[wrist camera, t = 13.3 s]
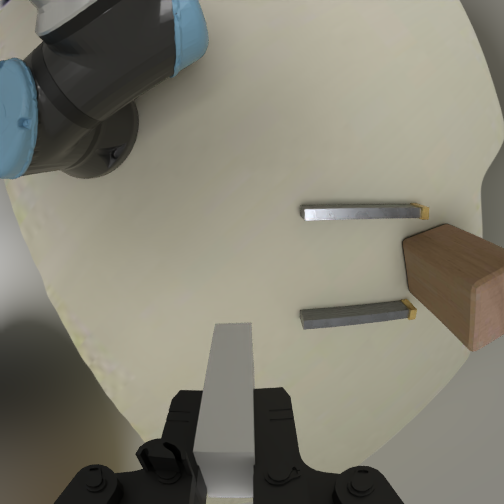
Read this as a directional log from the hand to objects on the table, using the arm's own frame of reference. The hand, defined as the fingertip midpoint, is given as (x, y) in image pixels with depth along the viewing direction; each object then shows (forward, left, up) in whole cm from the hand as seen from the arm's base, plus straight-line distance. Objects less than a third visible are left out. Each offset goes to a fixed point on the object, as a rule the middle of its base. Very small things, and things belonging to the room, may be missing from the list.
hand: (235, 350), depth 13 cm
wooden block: (+8, +30, -33) cm, 45 cm away
